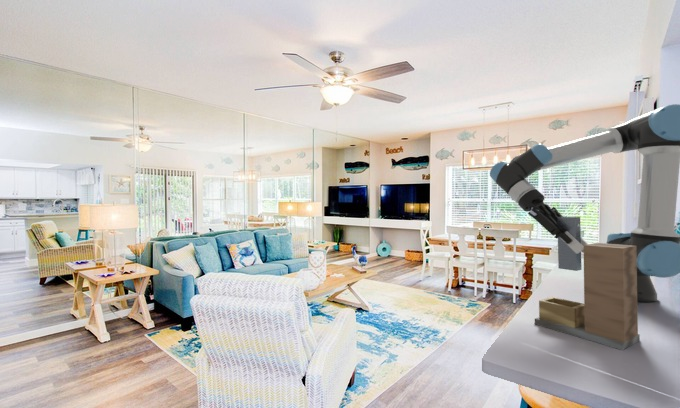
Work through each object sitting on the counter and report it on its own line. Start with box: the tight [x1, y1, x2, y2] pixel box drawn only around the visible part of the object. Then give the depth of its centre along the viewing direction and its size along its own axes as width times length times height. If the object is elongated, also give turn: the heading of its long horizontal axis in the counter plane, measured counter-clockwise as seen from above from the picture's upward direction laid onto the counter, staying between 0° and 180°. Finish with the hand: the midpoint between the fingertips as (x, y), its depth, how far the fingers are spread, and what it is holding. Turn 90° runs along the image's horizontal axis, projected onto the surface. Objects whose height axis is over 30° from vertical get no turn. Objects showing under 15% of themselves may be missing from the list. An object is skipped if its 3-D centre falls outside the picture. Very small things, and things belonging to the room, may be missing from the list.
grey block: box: [557, 216, 582, 272], centre depth 101 cm, size 3×5×16 cm, turn 31°
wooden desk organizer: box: [534, 242, 641, 351], centre depth 87 cm, size 10×20×24 cm, turn 31°
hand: (583, 250), depth 98 cm, fingers closed on grey block, 3 cm apart
